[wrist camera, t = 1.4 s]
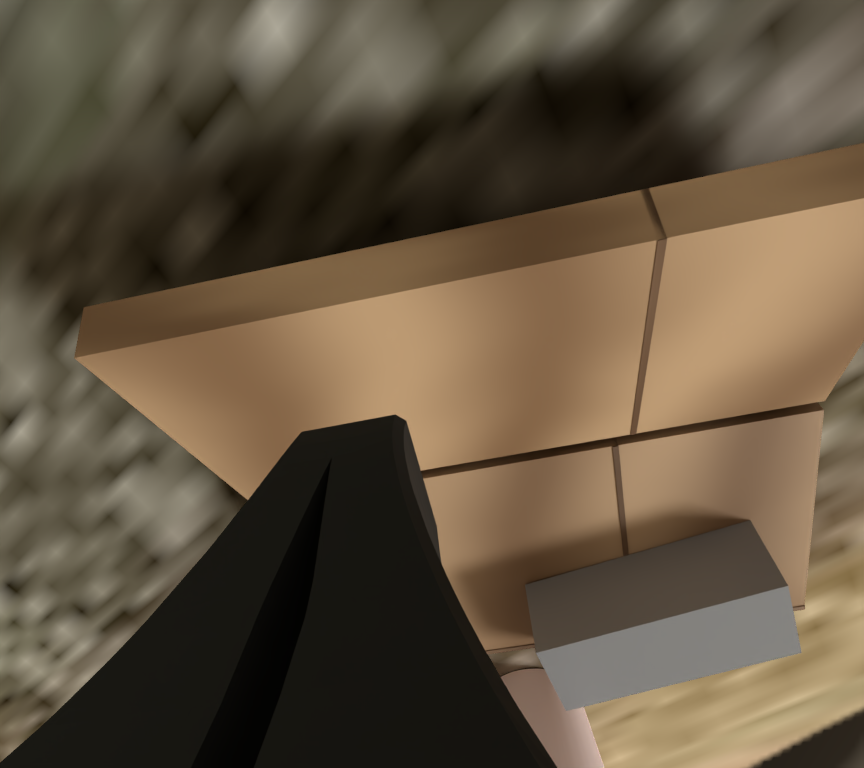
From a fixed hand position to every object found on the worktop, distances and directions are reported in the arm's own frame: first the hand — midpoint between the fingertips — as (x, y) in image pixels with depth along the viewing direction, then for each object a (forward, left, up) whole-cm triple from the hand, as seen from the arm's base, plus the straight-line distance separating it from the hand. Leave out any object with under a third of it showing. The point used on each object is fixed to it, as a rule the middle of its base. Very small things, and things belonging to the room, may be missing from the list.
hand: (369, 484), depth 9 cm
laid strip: (-2, +11, -10) cm, 15 cm away
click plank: (-2, +2, -7) cm, 8 cm away
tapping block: (-5, +12, -8) cm, 16 cm away
